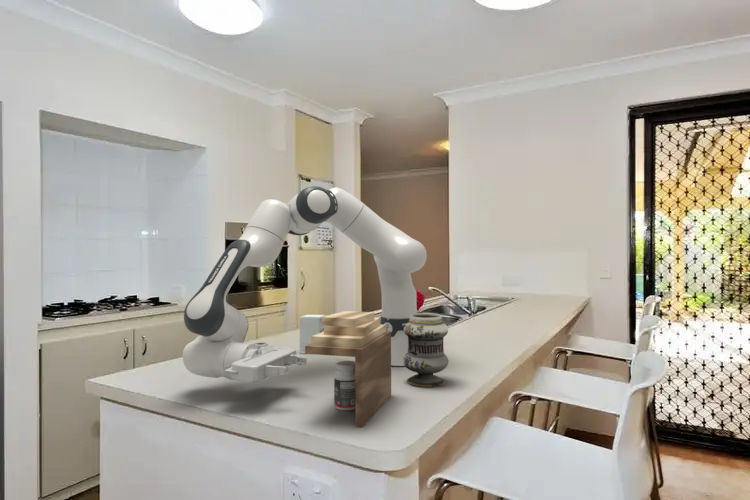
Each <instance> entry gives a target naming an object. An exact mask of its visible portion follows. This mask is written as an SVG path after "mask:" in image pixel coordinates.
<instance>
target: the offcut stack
mask: <svg viewBox="0 0 750 500" xmlns="http://www.w3.org/2000/svg"><path fill="white" fill-rule="evenodd" d="M380 320H381V316H379V317H378V316H377V317H376V316H375V312H373V311H372V312H371V311H356V310H351V311H350V310H343V311H340V312H335V313H332V314H328V315H325V316H324V317H322V325H323V326H324V331H323V332H320V333H318V334H316V335H313V336H311V345H322V346H339V347H356V348H361V347H363V346H365V345H366V344H368V343H370V342H371V341H373V340H374V339H376V338H378V337H379V336H381V335H383V334H384V333H386V325H383V324H380Z"/></svg>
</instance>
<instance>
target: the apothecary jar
mask: <svg viewBox="0 0 750 500" xmlns="http://www.w3.org/2000/svg"><path fill="white" fill-rule="evenodd" d="M448 332H449V328H448V326H447V324H446V323H444V321H443V316H442V314H438V313H434V312H417V313H415V314H411V315H410V320H409V322H408V323H407V324H406V325H405V326H404V333H405V334H406V335H407V336H408V353H406V355H405V356H404V358H403V363H404V365H405V366H404V367H406V369H407V370H409V371H411V372H414V373H417V374H415V375H413V376H410V377H409V378H407V380H406V383H408V384H409V385H412V386H415V387H421V388H432V387H440V386H442V385H444V384H445V380H444V379H443V378H441V377H439V376H438V375H435V374H436V373H439V372H442V371H444V370H445V369H447V367H448V366H449V358H448V356H447V355H446V354H445V350H444V337H446V336H447V335H448Z"/></svg>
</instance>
